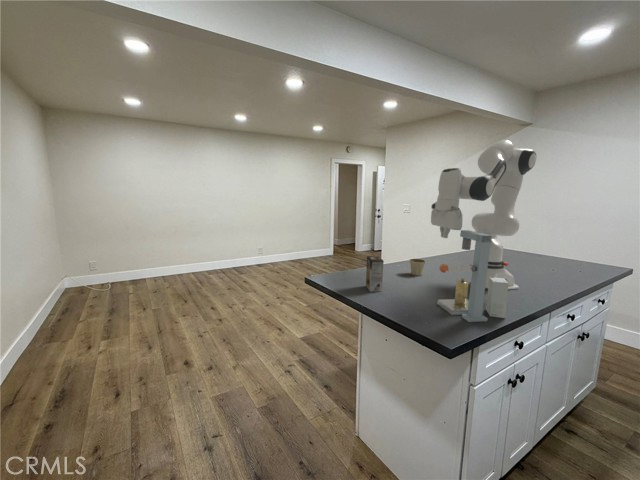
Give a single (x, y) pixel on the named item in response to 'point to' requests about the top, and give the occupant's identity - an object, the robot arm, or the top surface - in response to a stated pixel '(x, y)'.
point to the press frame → (477, 273)
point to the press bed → (454, 307)
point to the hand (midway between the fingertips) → (444, 237)
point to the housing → (461, 293)
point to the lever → (457, 268)
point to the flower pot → (417, 266)
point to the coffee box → (374, 273)
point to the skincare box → (497, 297)
